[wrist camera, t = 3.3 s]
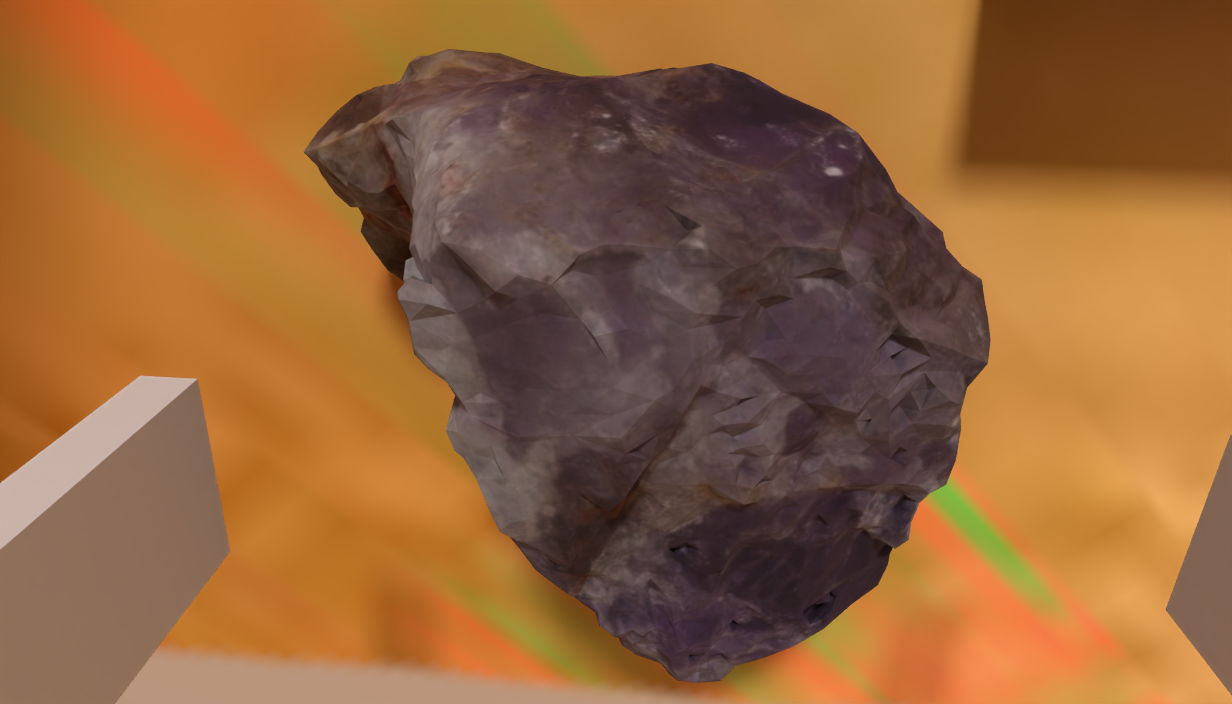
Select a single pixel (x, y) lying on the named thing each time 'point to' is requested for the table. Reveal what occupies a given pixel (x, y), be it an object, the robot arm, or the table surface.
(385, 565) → the table surface
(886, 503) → the rock
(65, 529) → the robot arm
